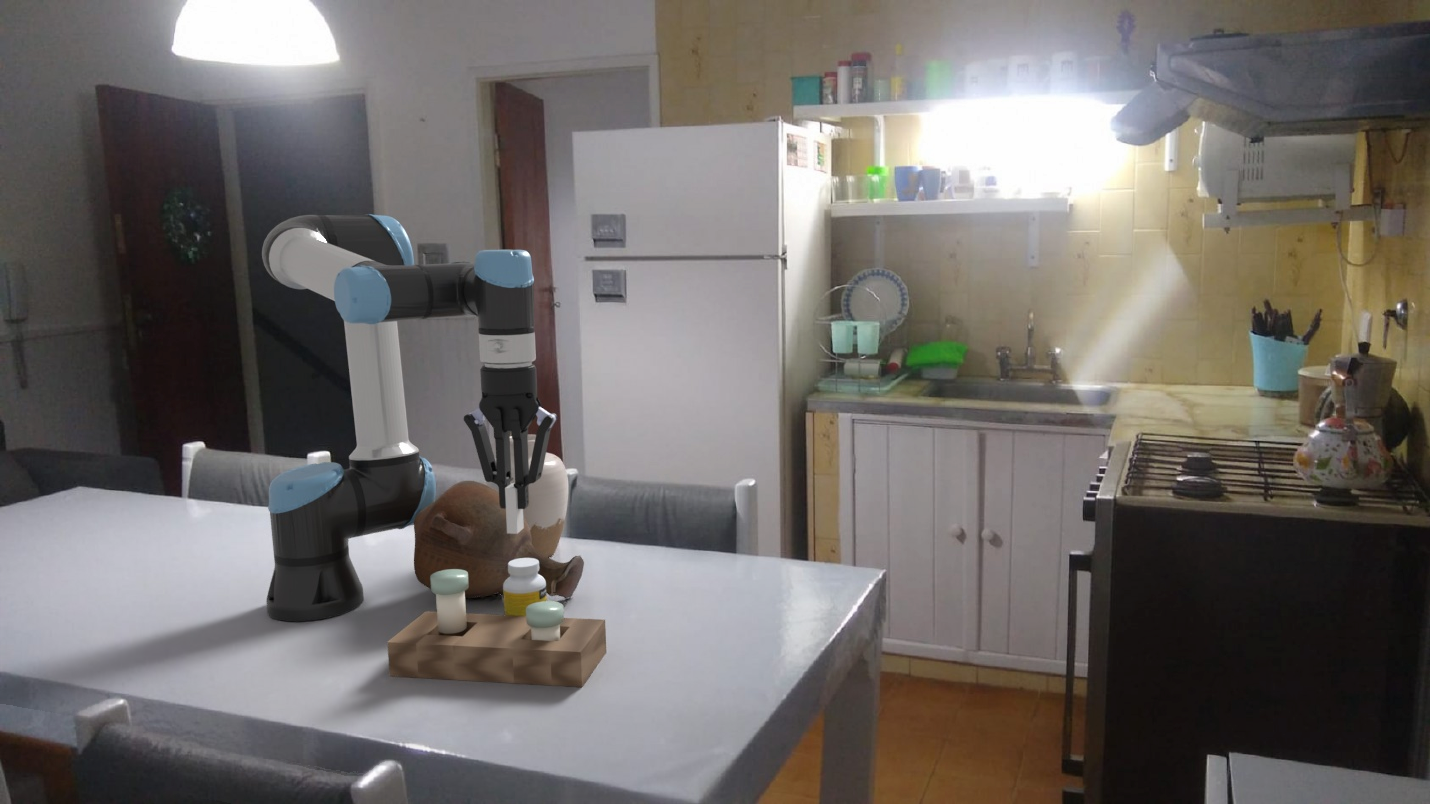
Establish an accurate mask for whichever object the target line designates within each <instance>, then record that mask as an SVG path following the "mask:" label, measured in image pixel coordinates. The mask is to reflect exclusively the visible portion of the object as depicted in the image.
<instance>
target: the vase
mask: <svg viewBox="0 0 1430 804" xmlns="http://www.w3.org/2000/svg"><path fill="white" fill-rule="evenodd" d="M527 439H528V462H529V469H530V464H531V459H532V454H533V449H534V444H535V439H536V434H532V433H531V434H529V433H528V436H527ZM510 456H511V478H512V477H513V480H512V481H511V482H510V484H511V483H515V467H514V446H513V439H512V435H510ZM494 458H495V461H496V457H494ZM483 484H484V485H487V486H488V487H490V488H492V489H494V490H496V491H497V492H498V493H499V487H498V485H497V484H495V483H493V482H487V481H486V480H485V479H484V482H483ZM528 489H529V505H528V507H527V508H525V509H523V517H524V518H525V520H526V522H527V524H528V526H529V529H530V533H531V539H532V545H533V546H534V548H535V549H536V550H537V551H538V552H540V553H541V554H543V555H545V556H546V557H548V558H550V557H551V556H553V555H554V554H555V552H556V551H557V549H558V545H559V543H560V540H561V537H562V534H563V531H564V525H565V521H566V515H567V509H568V503H569V502H568V501H569V478H568V473H567V469H566V466H565V465H564V462H563V461H562V459H561V458H560V457H559V456H557V455H555V454H554V453H551V452H547V451H546V456H545V461H544V465H543V470H542V475H541V478H540V479H538V480H537V481H536V482H534V483H531V484H529V486H528Z"/></svg>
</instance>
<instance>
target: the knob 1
mask: <svg viewBox="0 0 1430 804" xmlns="http://www.w3.org/2000/svg"><path fill="white" fill-rule="evenodd" d="M430 579H431V589H430V591H431V592H432V594H435V601H436V602H435V603H436V612H437V620H438V631H439V632H441V633H445V634H452V633H458V632H461V631H464V630H465V629H466V628H467V622H466V613H467V610H466V598H465V590H467V589H468V588H469V583H468V572H467V571H465V570H460V569H449V570H442V571H438V572H435V573H433V574H432V575H431V576H430Z"/></svg>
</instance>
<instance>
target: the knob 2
mask: <svg viewBox="0 0 1430 804" xmlns="http://www.w3.org/2000/svg"><path fill="white" fill-rule="evenodd" d="M564 616H565V615H564V605H563V604H562V603H561V602H558V601H553V600H552V601H551V600H547V601H542V602H536V603H533V604H530V605H529V606H527V607H526V623H527V625H529V626H531V636H532V640H544V641H559V639H560V624H561V623H562V622H563V621H564V618H565V617H564Z"/></svg>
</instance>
